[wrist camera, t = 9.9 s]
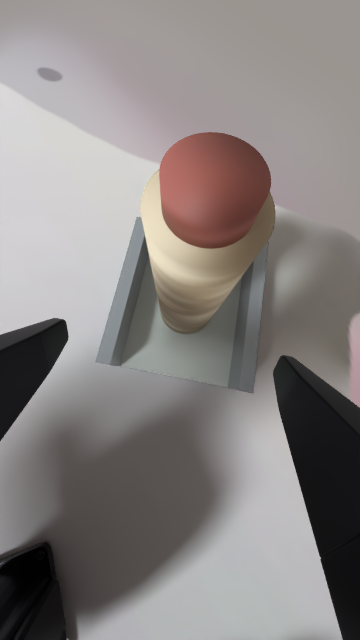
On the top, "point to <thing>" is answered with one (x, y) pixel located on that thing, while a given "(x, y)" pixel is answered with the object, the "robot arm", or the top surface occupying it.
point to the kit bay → (184, 349)
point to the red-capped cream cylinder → (204, 224)
